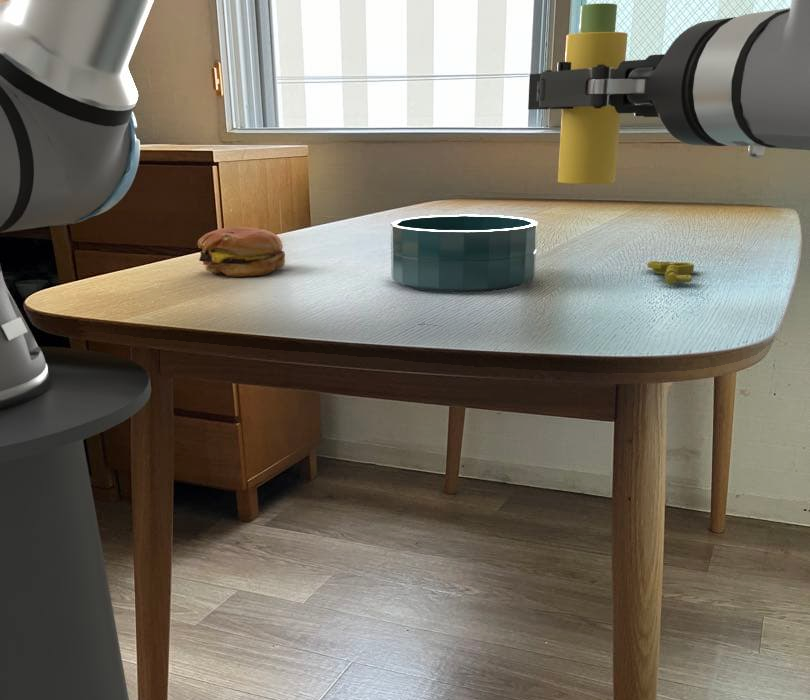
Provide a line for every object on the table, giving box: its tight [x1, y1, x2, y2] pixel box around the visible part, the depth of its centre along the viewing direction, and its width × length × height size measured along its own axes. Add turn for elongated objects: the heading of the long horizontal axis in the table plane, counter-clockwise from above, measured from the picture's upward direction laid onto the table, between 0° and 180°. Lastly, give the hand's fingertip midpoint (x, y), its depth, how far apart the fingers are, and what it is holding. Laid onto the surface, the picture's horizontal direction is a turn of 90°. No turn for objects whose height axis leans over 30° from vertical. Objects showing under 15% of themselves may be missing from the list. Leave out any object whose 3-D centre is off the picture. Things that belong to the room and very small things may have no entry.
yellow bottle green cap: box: [557, 2, 629, 185], centre depth 73 cm, size 5×5×13 cm
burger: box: [196, 226, 286, 278], centre depth 102 cm, size 10×9×5 cm
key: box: [646, 260, 695, 286], centre depth 96 cm, size 12×1×5 cm
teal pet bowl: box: [390, 214, 538, 294], centre depth 94 cm, size 15×15×6 cm
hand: (561, 91), depth 77 cm, fingers closed on yellow bottle green cap, 5 cm apart
